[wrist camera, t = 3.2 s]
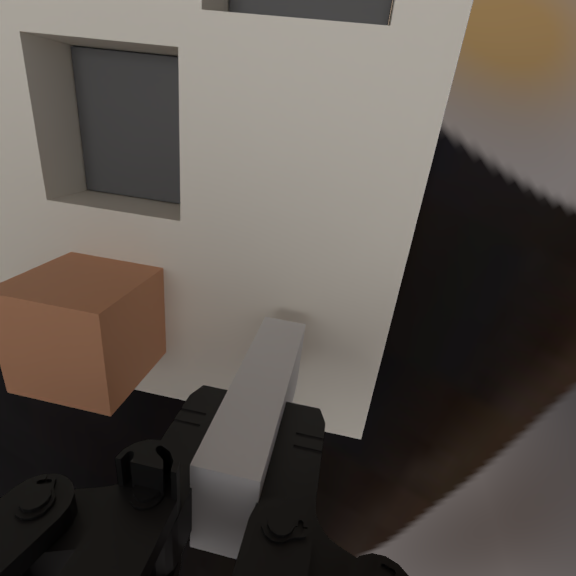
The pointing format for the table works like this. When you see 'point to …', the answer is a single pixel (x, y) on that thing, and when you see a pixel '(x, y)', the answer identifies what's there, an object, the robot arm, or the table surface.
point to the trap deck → (231, 167)
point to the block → (81, 330)
